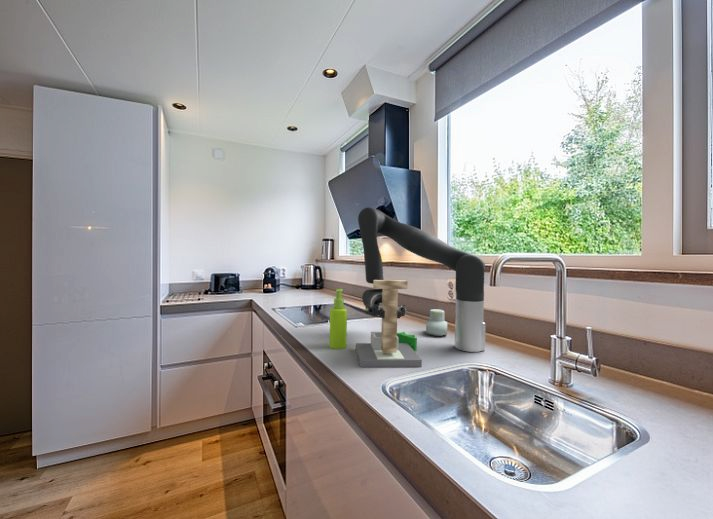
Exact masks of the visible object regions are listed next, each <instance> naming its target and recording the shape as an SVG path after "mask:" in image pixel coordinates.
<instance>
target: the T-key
mask: <svg viewBox="0 0 713 519" xmlns="http://www.w3.org/2000/svg"><path fill="white" fill-rule="evenodd" d="M408 281H409V280H404V279H402V280H401V279H400V280H399V279H398V280H397V279H396V280H395V279H391V280H390V279H384V280H373V285H372V286H373V287H372V289H383V290H382V309H383V310H384V311H385V318H381V331H380V332H381V349H382V351H383V353H396V348H397V333H398V318H397V310H398V307H399V304H398V303H399V302H398V300H399V290H408Z"/></svg>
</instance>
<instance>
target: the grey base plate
mask: <svg viewBox="0 0 713 519" xmlns="http://www.w3.org/2000/svg"><path fill="white" fill-rule="evenodd" d="M355 351H356V356H357V359H358V364H359V366H360V368H420V367H421V368H422V366H423V365H422V363H423V359H422V358H420V356H419V355H418V354H417V353H416V351H414V350H413V349H412V348H411V347H410V345H409V344H408V343H399V338H398V336H397V348H396V353H383V351H382V349H381V331H370V342H359V343H358V342H355Z"/></svg>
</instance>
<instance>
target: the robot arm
mask: <svg viewBox="0 0 713 519" xmlns="http://www.w3.org/2000/svg"><path fill="white" fill-rule="evenodd" d="M357 223H358V227H359V231H360V237H361V242H362V243H361V244H362V248H363V249H362V250H363V255H364V271H365V281H366V283H368V284H373V280H385V279H384V269H383V259H382V255H381V252H380V249H379V245H378V234H379V235H383V236H384V237H387V238H389V239H391V240H393V241H394V242H395V243H396V244H398V245H399V246H400V247H401V248H404V249H405V250H406V251H408V252H410V253H412V254H415V255H416V256H418V257H421V258H424V259H426V260H429V261H433V262H436V263H439V264H442V265H443V266H445V267H448V268H450V269H451V270H453V271H455V298H456V299H455V320H454V322H455V324H454V348H455V349H457V350H460V351H464V352H468V353H469V352H470V353H478V352H481V351H484V352H485V351H486V328H487V327H486V325H487V324H486V322H484V310H485V308H484V305H485V304H484V303H485V302H484V301H485V272H486V264H485V262H484V259H482V258H481V257H480V256H478V255H477V254H473V253H469V252H466V251H464V250H462V249H458V248H456V247H453V246H451V245H450V244H448V243H446V242H445V241H443V240H442V239H440V238H438V237H437V236H435V235H433V234H431V233H429V232H427V231H424V230H422V229H420V228H417V227H415V226H413V225H409V224H407V223H403V222H400V221H398V220H395V219H394V218H393V217H390V216H389V215H387V214H385V213H384V212H382V211H381V210H380V209H376V208H373V207H364V208H363V209H361V210H360V211H359V214H358V217H357ZM382 290H383V289H374V288H371V289H370V288H369V289H365V291H363V293H362V296H361V297H362V298H361V300H362V303H363V305H364V306H365V307H364V308H365V310H364V312H365V313H366V314H367V315H369V316H372V317H375V316H377V317H378V318H381V319H382V318H385V311H384V310H383V309H382ZM406 314H407V305H406V304H403V305H400V306H398V310H397V319H400V318H402V317H404V316H406Z"/></svg>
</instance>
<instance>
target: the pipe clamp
mask: <svg viewBox="0 0 713 519" xmlns="http://www.w3.org/2000/svg"><path fill="white" fill-rule="evenodd" d="M397 336H398V338H399V343H408V344H409V345H410V347H411V348H412V349H413V350H414V351H415V352H416V351H417V350H418V349H417V347H418V346H417V343H418V338H417V337H415V336H416V335H415V334H407V333H406V332H405V331H402V332H397Z"/></svg>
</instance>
